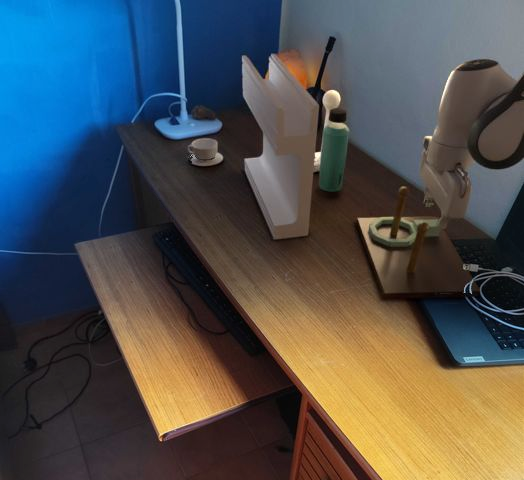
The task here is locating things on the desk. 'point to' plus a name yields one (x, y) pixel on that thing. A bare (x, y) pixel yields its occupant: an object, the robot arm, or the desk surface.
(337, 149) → the beverage bottle
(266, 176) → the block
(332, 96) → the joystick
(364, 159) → the desk surface
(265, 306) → the desk surface
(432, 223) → the hanging tag
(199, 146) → the teacup
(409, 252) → the peg rack
